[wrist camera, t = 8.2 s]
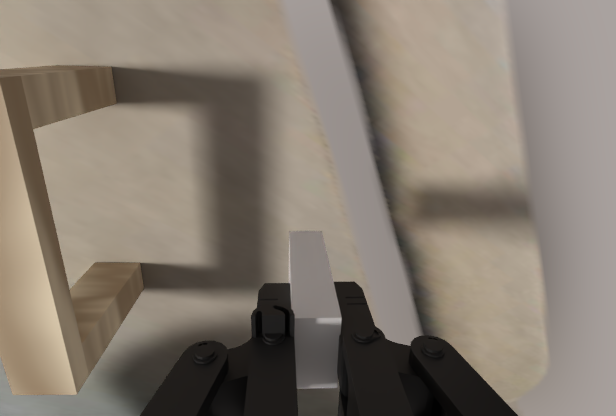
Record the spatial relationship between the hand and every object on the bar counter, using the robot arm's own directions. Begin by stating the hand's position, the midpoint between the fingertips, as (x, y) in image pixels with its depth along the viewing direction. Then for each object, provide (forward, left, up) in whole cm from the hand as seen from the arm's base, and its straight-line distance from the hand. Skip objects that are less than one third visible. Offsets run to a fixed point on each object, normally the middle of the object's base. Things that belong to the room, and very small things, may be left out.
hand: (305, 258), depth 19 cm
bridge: (+1, +12, -8) cm, 15 cm away
